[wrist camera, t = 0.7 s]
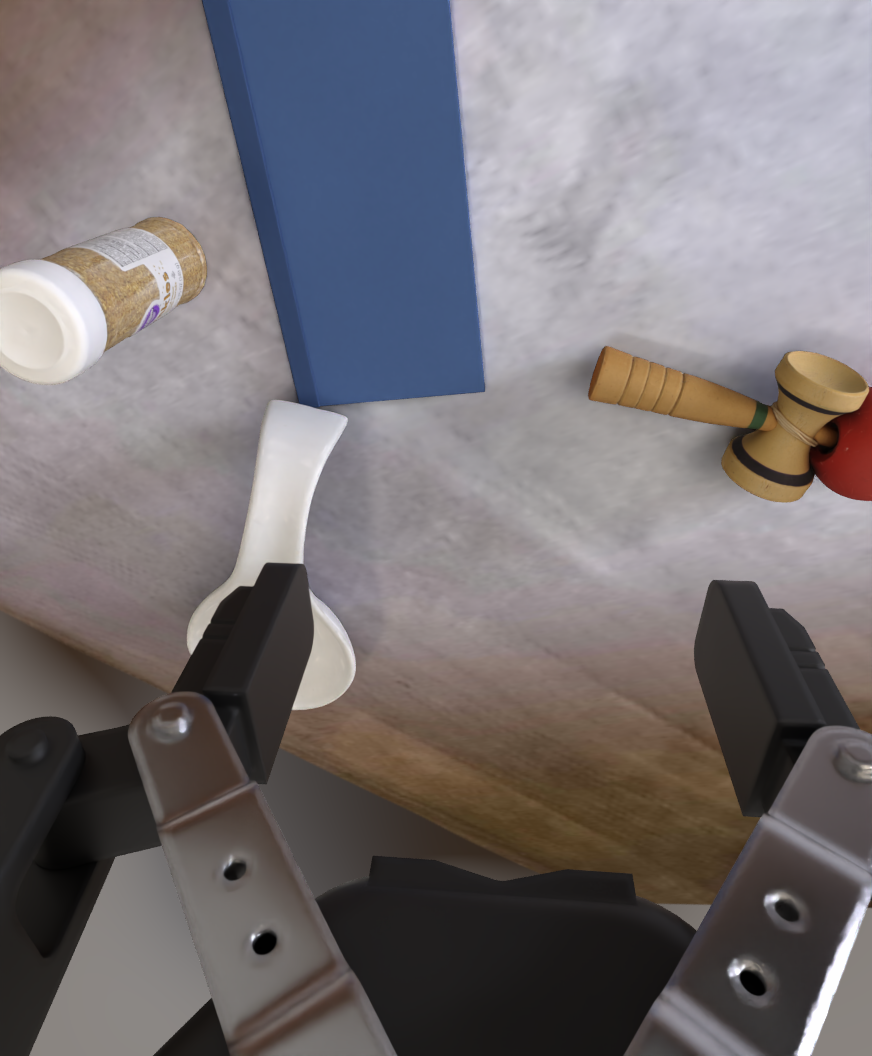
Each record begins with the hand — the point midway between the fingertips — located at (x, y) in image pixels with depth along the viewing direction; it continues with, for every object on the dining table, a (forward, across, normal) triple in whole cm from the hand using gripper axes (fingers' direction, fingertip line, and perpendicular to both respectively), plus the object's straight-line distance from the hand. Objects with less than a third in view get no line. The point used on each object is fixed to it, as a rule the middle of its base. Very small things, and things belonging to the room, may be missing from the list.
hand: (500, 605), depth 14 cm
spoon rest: (+27, +14, +18) cm, 35 cm away
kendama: (+28, -14, +7) cm, 31 cm away
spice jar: (+28, +18, -1) cm, 33 cm away
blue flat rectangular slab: (+28, +8, -5) cm, 29 cm away
